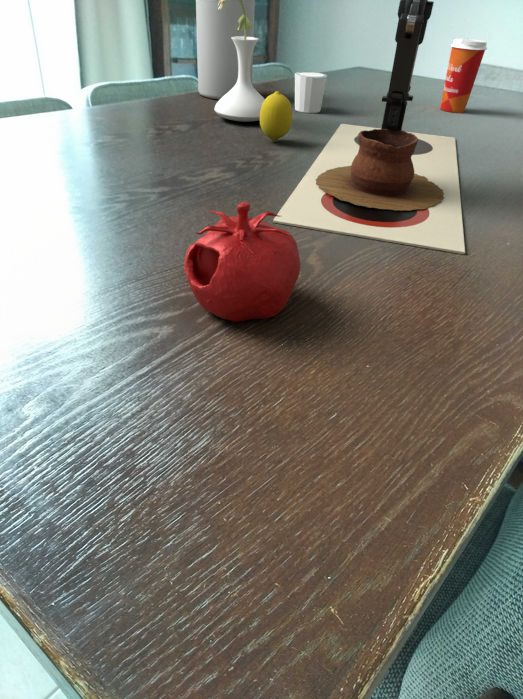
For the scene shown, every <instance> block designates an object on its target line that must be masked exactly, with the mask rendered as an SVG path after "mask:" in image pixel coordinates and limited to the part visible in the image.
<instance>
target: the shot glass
mask: <svg viewBox="0 0 523 699" xmlns="http://www.w3.org/2000/svg"><path fill="white" fill-rule="evenodd" d="M327 79H328V75H327V74H326V73H321V72H317V71H297V72H295V73H294V110H295V111H297V112H299V113H305V114H316V113H320V112H321V109H322V104H323V100H324V95H325V89H326V85H327Z"/></svg>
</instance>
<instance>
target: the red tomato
mask: <svg viewBox="0 0 523 699" xmlns="http://www.w3.org/2000/svg"><path fill="white" fill-rule="evenodd" d="M250 209H251V205H250V203H249V201H243V202H240V203H238V204H237V206H236V212H237V215H233V216H228V215H227V214H225V212H223V211H217V210H215V211H211V210H209V211H208V213H210V214H217V216H219V217H220V218H221V219H220V220H218V222H217V223H216V224H214V225H207V226H205V227H204V228H203V229H202V230H200V231H199V232H196V234H197V235H199V236H200V235H202V234H204V233H205V234H204V235H202V236H201V237H199V238H198V239H196V241H195V242H194V243H192V244H191V245H189V246H188V248H187V249H186V252H185V256H184V260H183V261H184V262H183V269H184V274H185V277H186V282H187V283H188V285H189V288H190V290H191V292H192V294H193V296H194V298H195V299H196V301H197V303H198V304H199V305H200V306H201V307H202V308H203V309H204V310H205V311H206V312H208V313H210V314H212V315H214V316H216V317H218V318H220V319H223V320H228V321H231V322H235V323H237V322H239V323H240V322H246V321H249V320H254V319H259V320H260V319H261V320H264V319H270V318H272V317H274V316H277V315H278V314H279V313H280V312H281V311H282V310H283V309H284V308H285V307H286V305H287V303H288V302H289V300H290V298H291V296H292V294H293V292H294V289H295V287H296V283H297V282H298V279H299V276H300V273H301V259H300V251H299V247H298V244H297V241H296V239H295V238H294V236H293V235H292V233H290V232H289V231H287V230H284V229H282V228H279V227H276V226H273V225H271V224H269V223H267V222H266V221H265V222H264V221H263V220H265V218H266V217H267V216H269V217H276V216H278V217H280V216H279V215H277V214H276V213H274V212H271V211H269V210H267V211H265V212H263V213H260V214H258V215H256V216H254V217H249V212H250Z"/></svg>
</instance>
